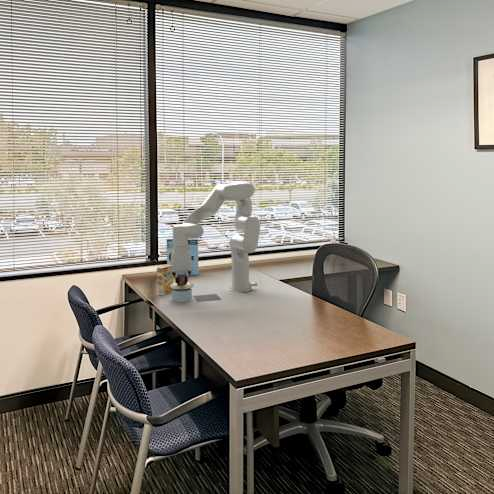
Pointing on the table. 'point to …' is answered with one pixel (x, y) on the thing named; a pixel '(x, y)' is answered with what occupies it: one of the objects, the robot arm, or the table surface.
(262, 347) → the table surface
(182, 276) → the brass cover
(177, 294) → the ceramic bowl
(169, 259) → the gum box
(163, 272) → the candy box
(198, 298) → the rubber mat
